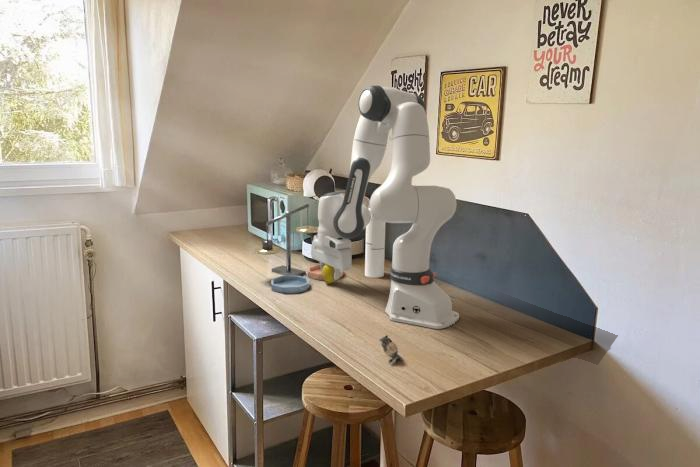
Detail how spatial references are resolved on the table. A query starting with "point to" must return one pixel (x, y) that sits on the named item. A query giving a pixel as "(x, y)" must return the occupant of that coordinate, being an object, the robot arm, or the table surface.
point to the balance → (270, 249)
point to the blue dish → (290, 284)
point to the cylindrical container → (375, 248)
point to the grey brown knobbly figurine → (390, 349)
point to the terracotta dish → (317, 272)
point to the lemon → (328, 273)
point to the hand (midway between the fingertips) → (330, 276)
